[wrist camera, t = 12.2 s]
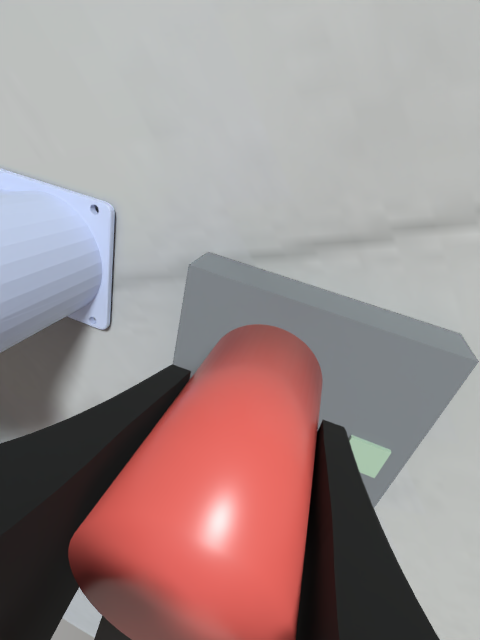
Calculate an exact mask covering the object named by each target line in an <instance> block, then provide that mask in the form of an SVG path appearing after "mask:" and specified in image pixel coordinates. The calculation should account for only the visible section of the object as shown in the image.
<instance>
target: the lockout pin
mask: <svg viewBox="0 0 480 640" xmlns="http://www.w3.org/2000/svg"><path fill="white" fill-rule="evenodd" d="M322 383H323V381H322V372H321V368H320V365H319V362H318V360H317V359H316V357H315V355H314V354H313V352H312V351H311V349H310V348H309V347H308V346H307V345H306V344H305V343H304V342H303V341H302V340H300V339H299V338H298V337H296V336H295V335H293V334H292V333H290V332H288V331H286V330H283V329H281V328H278V327H274V326H270V325H262V324H253V325H246V326H242V327H239V328H236V329H234V330H232V331H230V332H229V333H227V334H226V335H225V336H223V337H222V338H221V339H220V340H219V342H218V343H217V344H216V345H215V347H214V348H213V349H212V351H211V352H210V353H209V355H208V356H207V357H206V359H205V360H204V361H203V363H202V364H201V365H200V367H199V368H198V369H197V371H196V372H195V373H194V375H193V376H192V377H191V379H190V380H189V381H188V383H187V384H186V385H185V387H184V388H183V389H182V391H181V392H180V393H179V395H178V396H177V397H176V399H175V400H174V401H173V403H172V404H171V405H170V407H169V408H168V409H167V411H166V412H165V413H164V415H163V416H162V417H161V419H160V420H159V421H158V423H157V424H156V425H155V427H154V428H153V429H152V431H151V432H150V433H149V435H148V436H147V437H146V439H145V440H144V441H143V443H142V444H141V445H140V447H139V448H138V449H137V451H136V452H135V453H134V455H133V456H132V457H131V459H130V460H129V461H128V463H127V464H126V465H125V467H124V468H123V469H122V471H121V472H120V473H119V475H118V476H117V477H116V479H115V480H114V481H113V483H112V484H111V485H110V487H109V488H108V489H107V491H106V492H105V493H104V495H103V496H102V497H101V499H100V500H99V501H98V503H97V504H96V505H95V507H94V508H93V509H92V511H91V512H90V513H89V515H88V516H87V517H86V518H85V520H84V521H83V522H82V524H81V525H80V526H79V528H78V529H77V530H76V532H75V533H74V535H73V537H72V538H71V540H70V544H69V548H68V558H69V564H70V567H71V570H72V573H73V576H74V578H75V580H76V582H77V584H78V585H79V587H80V589H81V590H82V592H83V593H84V595H85V596H86V597H87V599H88V600H89V601H90V603H91V604H92V605H93V606H94V607H95V608H96V609H97V610H98V612H99V613H100V614H101V615H103V616H104V617H105V618H106V619H107V620H108V621H109V622H110V623H111V624H112V625H113V626H115V627H116V628H117V629H118V630H119V631H121V632H122V633H123V634H125V635H126V636H127V637H129V638H130V639H132V640H296V632H297V622H298V613H299V603H300V594H301V584H302V574H303V565H304V555H305V546H306V536H307V527H308V517H309V508H310V498H311V488H312V479H313V469H314V460H315V450H316V441H317V431H318V422H319V412H320V403H321V393H322Z"/></svg>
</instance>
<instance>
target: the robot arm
mask: <svg viewBox="0 0 480 640" xmlns="http://www.w3.org/2000/svg"><path fill="white" fill-rule="evenodd" d="M95 205H96V206H97V207H98V209H99V212H98V213H97V211H96V210H95ZM114 221H115V211H114V208H113V206H112V205H111V204H110V203H108V202H105V201H102V200H99V199H96V198H93V197H90V196H87V195H83V194H80V193H77V192H74V191H71V190H68V189H64V188H61V187H58V186H55V185H52V184H49V183H45V182H42V181H39V180H36V179H33V178H30V177H26V176H23V175H20V174H17V173H14V172H11V171H7V170H4V169H1V168H0V353H1V352H3V351H4V350H6V349H8V348H10V347H12V346H14V345H15V344H17V343H19V342H21V341H23V340H24V339H26V338H28V337H30V336H32V335H33V334H35V333H37V332H39V331H41V330H42V329H44V328H46V327H48V326H50V325H51V324H53V323H55V322H57V321H59V320H61V319H62V318H64V317H69V318H72V319H74V320H77V321H80V322H82V323H85V324H87V325H90V326H93V327H95V328H98V329H101V330H104V329H106V328H107V327H108V326H109V325H110V311H111V289H112V266H113V244H114ZM93 317H94V318H95V319H96V321H95V320H94V318H93ZM190 374H191V371H189V370H187V369H184V368H181V367H179V366H176V365H170V366H168V367H167V368H165V369H163V370H161V371H160V372H158V373H156V374H154V375H153V376H151V377H149V378H148V379H146V380H144V381H142V382H141V383H139V384H137V385H135V386H133V387H132V388H130V389H128V390H126V391H124V392H122V393H120V394H118V395H117V396H115V397H113V398H111V399H109V400H107V401H105V402H103V403H101V404H99V405H97V406H95V407H92V408H90V409H88V410H86V411H84V412H82V413H80V414H78V415H75V416H73V417H71V418H69V419H66V420H64V421H62V422H59V423H57V424H54V425H52V426H49V427H47V428H44V429H42V430H39V431H36V432H34V433H31V434H28V435H25V436H22V437H19V438H16V439H13V440H10V441H7V442H4V443H1V444H0V640H50V639H51V638H52V636H53V634H54V632H55V630H56V628H57V626H58V624H59V623H60V620H61V619H62V617H63V615H64V613H65V612H66V610H67V608H68V606H69V604H70V602H71V601H72V599H73V597H74V595H75V593H76V592H77V590H78V588H79V585H78V584H77V582H76V580H75V578H74V576H73V573H72V570H71V567H70V564H69V558H68V548H69V544H70V540H71V538H72V537H73V535H74V533H75V532H76V530H77V529H78V528H79V526H80V525H81V524H82V522H83V521H84V520H85V518H86V517H87V516H88V515H89V513H90V512H91V511H92V509H93V508H94V507H95V505H96V504H97V503H98V501H99V500H100V499H101V497H102V496H103V495H104V493H105V492H106V491H107V489H108V488H109V487H110V485H111V484H112V483H113V481H114V480H115V479H116V477H117V476H118V475H119V473H120V472H121V471H122V469H123V468H124V467H125V465H126V464H127V463H128V461H129V460H130V459H131V457H132V456H133V455H134V453H135V452H136V451H137V449H138V448H139V447H140V445H141V444H142V443H143V441H144V440H145V439H146V437H147V436H148V435H149V433H150V432H151V431H152V429H153V428H154V427H155V425H156V424H157V423H158V421H159V420H160V419H161V417H162V416H163V415H164V413H165V412H166V411H167V409H168V408H169V407H170V405H171V404H172V403H173V401H174V400H175V399H176V397H177V396H178V395H179V393H180V392H181V391H182V389H183V388H184V387H185V385H186V384H187V383H188V381H189V380H190ZM296 640H440V639H439V638H438V636H437V634H436V633H435V631H434V629H433V628H432V626H431V624H430V622H429V620H428V619H427V617H426V615H425V613H424V611H423V609H422V608H421V606H420V604H419V602H418V600H417V599H416V597H415V595H414V593H413V591H412V589H411V587H410V585H409V583H408V581H407V579H406V577H405V576H404V574H403V572H402V570H401V568H400V566H399V564H398V562H397V559H396V557H395V555H394V553H393V551H392V549H391V547H390V545H389V542H388V540H387V538H386V536H385V534H384V531H383V529H382V527H381V525H380V522H379V520H378V518H377V515H376V513H375V510H374V508H373V506H372V503H371V500H370V498H369V495H368V493H367V490H366V488H365V485H364V483H363V480H362V477H361V474H360V472H359V469H358V466H357V463H356V460H355V457H354V454H353V451H352V448H351V445H350V442H349V438H348V435H347V432H346V430H345V428H344V427H342V426H340V425H337V424H334V423H331V422H329V421H326V420H322V422H321V425H320V427H319V429H318V431H317V441H316V450H315V460H314V469H313V479H312V488H311V498H310V508H309V517H308V527H307V536H306V546H305V555H304V565H303V574H302V584H301V594H300V603H299V613H298V622H297V632H296Z"/></svg>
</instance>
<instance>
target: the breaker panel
mask: <svg viewBox="0 0 480 640" xmlns="http://www.w3.org/2000/svg"><path fill="white" fill-rule="evenodd" d="M253 324H262V325H270V326H274V327H278V328H281V329H283V330H286V331H288V332H290V333H292V334H293V335H295V336H296V337H298V338H299V339H300V340H302V341H303V342H304V343H305V344H306V345H307V346H308V347H309V348H310V349H311V351H312V352H313V354H314V355H315V357H316V359H317V360H318V362H319V365H320V368H321V372H322V381H323V383H322V393H321V403H320V412H319V422H318V429H319V427H320V425H321V422H322V420H326V421H329V422H331V423H334V424H337V425H340V426H342V427H344V428H345V430H346V432H347V435H348V438H349V442H350V445H351V448H352V451H353V454H354V457H355V460H356V463H357V466H358V469H359V472H360V474H361V477H362V480H363V483H364V485H365V488H366V490H367V493H368V495H369V498H370V500H371V503H372V506H373V508H374V507H375V506H376V504H377V503H378V502H379V500H380V499H381V497H382V496H383V495H384V493H385V492H386V490H387V489H388V488H389V486H390V485H391V483H392V482H393V481H394V479H395V478H396V476H397V475H398V474H399V472H400V471H401V469H402V468H403V467H404V465H405V464H406V462H407V461H408V460H409V458H410V457H411V455H412V454H413V453H414V451H415V450H416V448H417V447H418V446H419V444H420V443H421V441H422V440H423V439H424V437H425V436H426V434H427V433H428V432H429V430H430V429H431V427H432V426H433V425H434V423H435V422H436V420H437V419H438V418H439V416H440V415H441V413H442V412H443V411H444V409H445V408H446V406H447V405H448V404H449V402H450V401H451V399H452V398H453V397H454V395H455V394H456V392H457V391H458V390H459V388H460V387H461V385H462V384H463V383H464V381H465V380H466V379H467V377H468V376H469V374H470V373H471V372H472V370H473V369H474V367H475V366H476V365H477V363H478V362H479V361H478V360H477V358H476V357H475V355H474V354H473V352H472V351H471V349H470V347H469V346H468V344H467V343H466V341H465V340H464V338H463V337H462V335H461V334H459V333H456V332H453V331H450V330H447V329H444V328H441V327H438V326H435V325H432V324H428V323H425V322H422V321H419V320H416V319H413V318H410V317H407V316H404V315H401V314H398V313H395V312H392V311H388V310H385V309H382V308H379V307H376V306H373V305H370V304H367V303H364V302H361V301H358V300H355V299H352V298H348V297H345V296H342V295H339V294H336V293H333V292H330V291H327V290H324V289H321V288H318V287H315V286H312V285H308V284H305V283H302V282H299V281H296V280H293V279H290V278H287V277H284V276H281V275H278V274H275V273H271V272H268V271H265V270H262V269H259V268H256V267H253V266H250V265H247V264H244V263H241V262H238V261H235V260H231V259H228V258H225V257H222V256H219V255H216V254H213V253H210V252H208V253H206V254H205V255H203V256H202V257H200V258H198V259H197V260H195V261H194V262H192V263H191V264H189V267H188V273H187V279H186V286H185V292H184V298H183V304H182V310H181V316H180V323H179V329H178V335H177V341H176V347H175V353H174V360H173V365H176V366H179V367H181V368H184V369H187V370H189V371H191V374H190V379H191V377H192V376H193V375H194V373H195V372H196V371H197V369H198V368H199V367H200V365H201V364H202V363H203V361H204V360H205V359H206V357H207V356H208V355H209V353H210V352H211V351H212V349H213V348H214V347H215V345H216V344H217V343H218V342H219V340H220V339H221V338H222V337H223V336H225V335H226V334H227V333H229V332H230V331H232V330H234V329H236V328H239V327H242V326H246V325H253Z"/></svg>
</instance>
